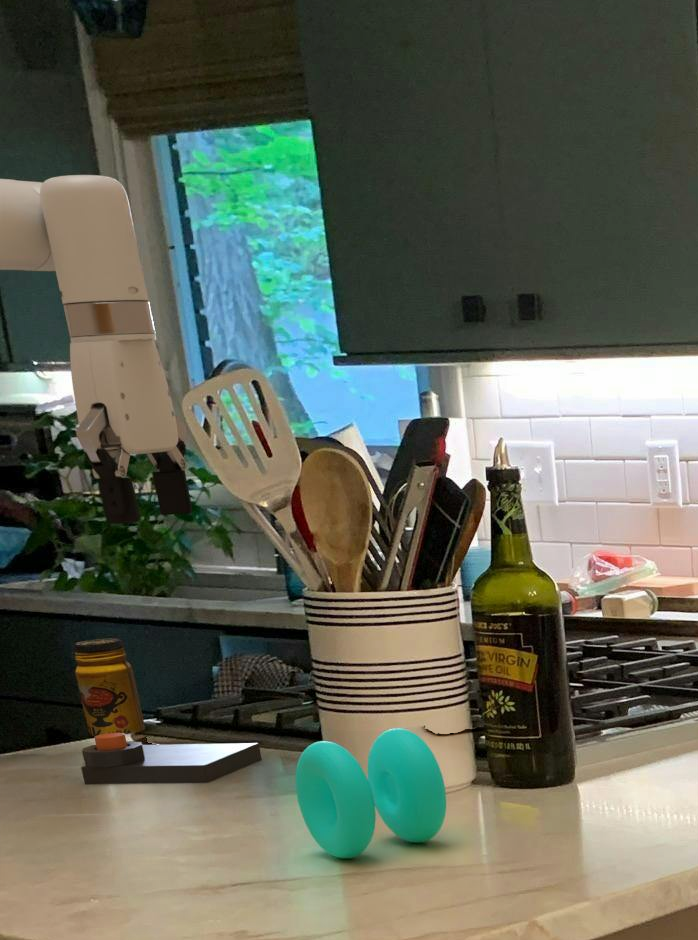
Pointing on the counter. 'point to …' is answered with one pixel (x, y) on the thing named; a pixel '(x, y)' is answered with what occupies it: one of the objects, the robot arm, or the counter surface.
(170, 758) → the scale
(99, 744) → the button
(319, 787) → the donuts
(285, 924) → the counter surface
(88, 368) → the robot arm
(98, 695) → the condiment
